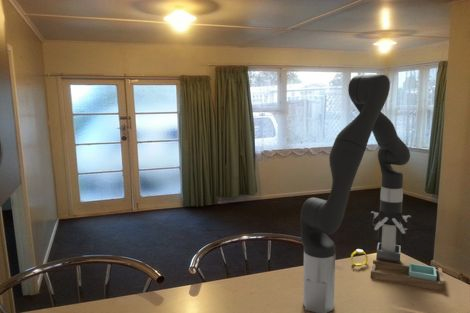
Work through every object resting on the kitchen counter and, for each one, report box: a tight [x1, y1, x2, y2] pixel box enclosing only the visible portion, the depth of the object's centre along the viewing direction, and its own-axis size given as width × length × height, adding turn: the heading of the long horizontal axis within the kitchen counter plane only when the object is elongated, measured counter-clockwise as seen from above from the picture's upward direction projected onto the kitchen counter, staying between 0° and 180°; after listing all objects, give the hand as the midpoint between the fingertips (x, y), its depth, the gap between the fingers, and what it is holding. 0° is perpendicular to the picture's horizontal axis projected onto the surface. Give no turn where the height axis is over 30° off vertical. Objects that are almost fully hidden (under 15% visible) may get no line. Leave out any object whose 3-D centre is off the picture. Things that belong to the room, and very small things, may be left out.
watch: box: [350, 248, 369, 267], centre depth 133 cm, size 6×3×6 cm, turn 86°
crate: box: [408, 262, 438, 282], centre depth 120 cm, size 7×8×4 cm
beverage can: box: [381, 224, 397, 252], centre depth 132 cm, size 5×5×12 cm
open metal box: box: [375, 242, 402, 264], centre depth 133 cm, size 8×8×6 cm
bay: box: [370, 259, 445, 292], centre depth 122 cm, size 10×22×4 cm, turn 64°
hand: (389, 240), depth 132 cm, fingers open, 8 cm apart
